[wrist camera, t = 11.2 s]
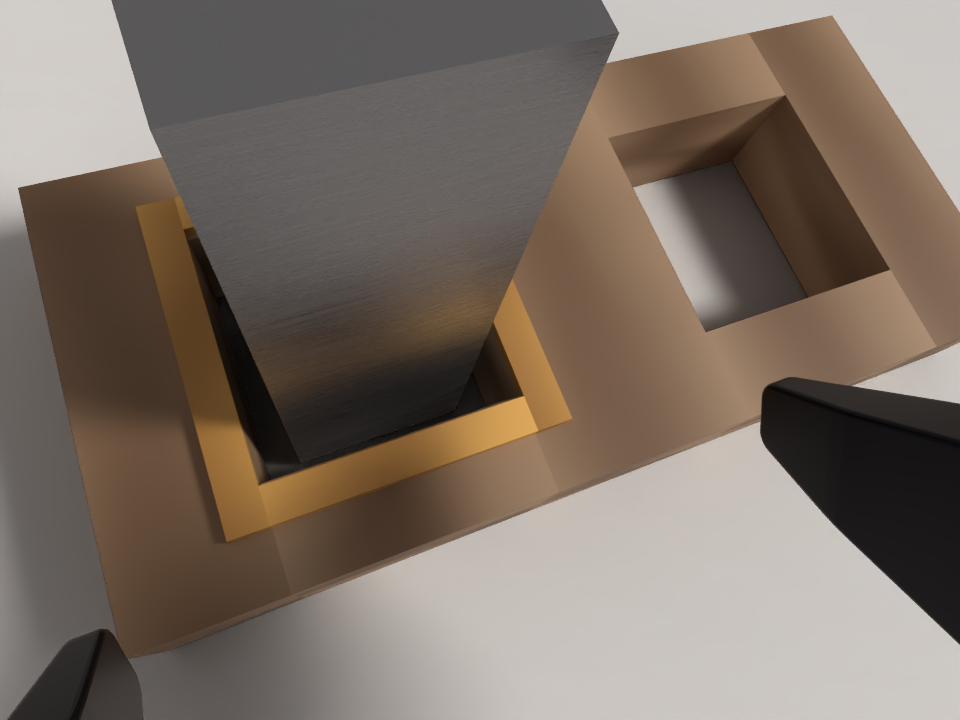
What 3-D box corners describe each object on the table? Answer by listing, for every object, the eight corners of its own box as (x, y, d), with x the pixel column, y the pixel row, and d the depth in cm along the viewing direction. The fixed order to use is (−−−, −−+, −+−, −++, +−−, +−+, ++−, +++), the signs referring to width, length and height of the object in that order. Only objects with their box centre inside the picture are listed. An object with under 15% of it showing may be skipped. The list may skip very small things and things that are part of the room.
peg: (402, 276, 19) (458, -263, 7) (454, 410, 18) (618, 32, 6) (254, 317, 18) (42, -232, 6) (300, 463, 17) (150, 130, 5)
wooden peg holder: (776, 86, 23) (838, 7, 20) (935, 353, 21) (1034, 308, 18) (73, 254, 18) (11, 179, 15) (168, 650, 15) (116, 661, 12)
